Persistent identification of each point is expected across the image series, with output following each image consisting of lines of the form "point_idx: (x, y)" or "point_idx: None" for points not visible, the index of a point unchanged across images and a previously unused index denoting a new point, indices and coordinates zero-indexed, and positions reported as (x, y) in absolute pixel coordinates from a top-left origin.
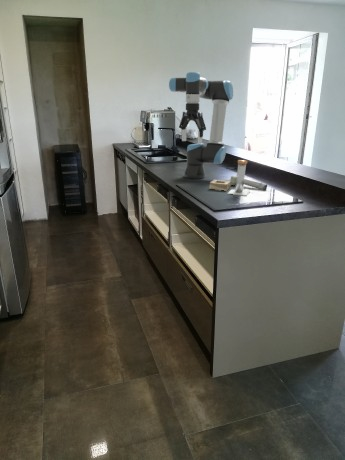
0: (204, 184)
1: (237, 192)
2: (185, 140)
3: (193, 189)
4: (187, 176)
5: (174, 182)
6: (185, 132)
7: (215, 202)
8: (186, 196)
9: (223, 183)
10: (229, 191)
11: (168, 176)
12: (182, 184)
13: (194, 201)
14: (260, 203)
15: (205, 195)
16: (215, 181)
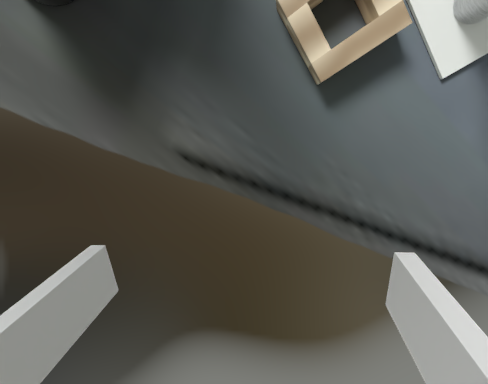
0: (223, 28)
1: None
2: (105, 258)
3: (277, 146)
4: (59, 1)
5: (132, 127)
6: (9, 349)
7: (484, 218)
8: (346, 239)
9: (380, 21)
10: (429, 41)
11: (10, 68)
12: (178, 123)
13: None
14: None
15: (383, 176)
16: (314, 25)
